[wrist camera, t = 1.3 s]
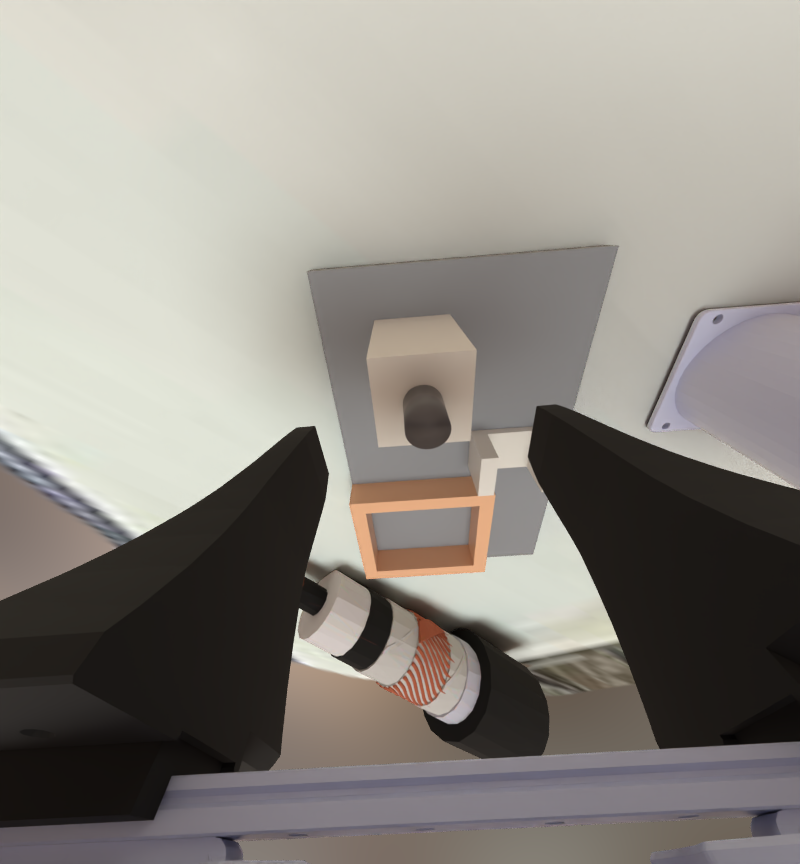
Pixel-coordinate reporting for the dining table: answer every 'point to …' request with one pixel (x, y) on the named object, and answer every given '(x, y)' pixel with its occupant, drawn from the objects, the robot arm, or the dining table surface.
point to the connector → (421, 381)
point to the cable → (429, 668)
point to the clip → (497, 455)
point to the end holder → (421, 498)
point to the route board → (494, 375)
